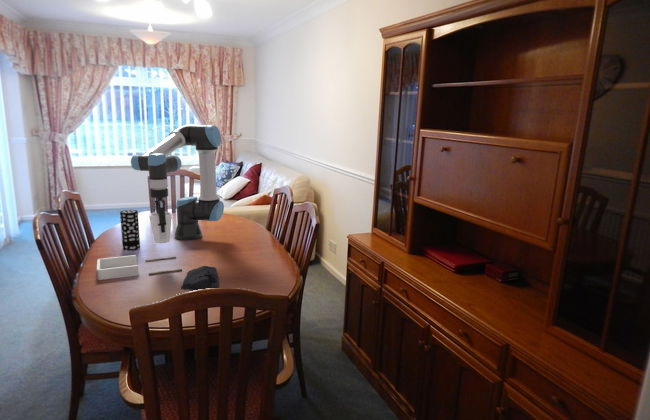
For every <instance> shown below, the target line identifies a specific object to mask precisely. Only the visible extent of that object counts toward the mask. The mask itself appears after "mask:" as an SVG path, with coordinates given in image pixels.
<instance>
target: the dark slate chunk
mask: <svg viewBox="0 0 650 420" xmlns="http://www.w3.org/2000/svg"><path fill="white" fill-rule="evenodd" d="M217 271H218V270H217V267H216V266H208V265H203V266H199V267H197V268H193V269H191V270H189V271H188V272H187V273H186V276H185V277H184V279H183V282H182V284H181V288H180V289H181V290H184V291H188V290H189V291H190V290H195V291H197V290H198V289H203V290H206V289H205V288H210V289H215V288H219V286H220V281H219V275H218V272H217ZM198 291H199V290H198Z"/></svg>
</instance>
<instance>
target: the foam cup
mask: <svg viewBox="0 0 650 420" xmlns="http://www.w3.org/2000/svg"><path fill="white" fill-rule="evenodd" d="M165 218H166V238H167V239H160V231H159V226H158V224H159V215H158V214H157V212H156V211H155V212H151V213H150V214H149V221H150V225H151V230H152V234H153V239H154V243H156V244H167V243H169V242H170V241H171V227H172V220H173V214H172V212H169V211H165Z"/></svg>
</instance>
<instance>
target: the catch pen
mask: <svg viewBox="0 0 650 420" xmlns="http://www.w3.org/2000/svg"><path fill="white" fill-rule="evenodd" d="M96 263H97V264H96V274H97V281H101V280H110V279H117V278H127V277H133V276H139V275H140V273H139V264H138V263H137V255H136V254H133V255H123V256H115V257H105V258H104V257H103V258H97V261H96Z"/></svg>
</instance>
